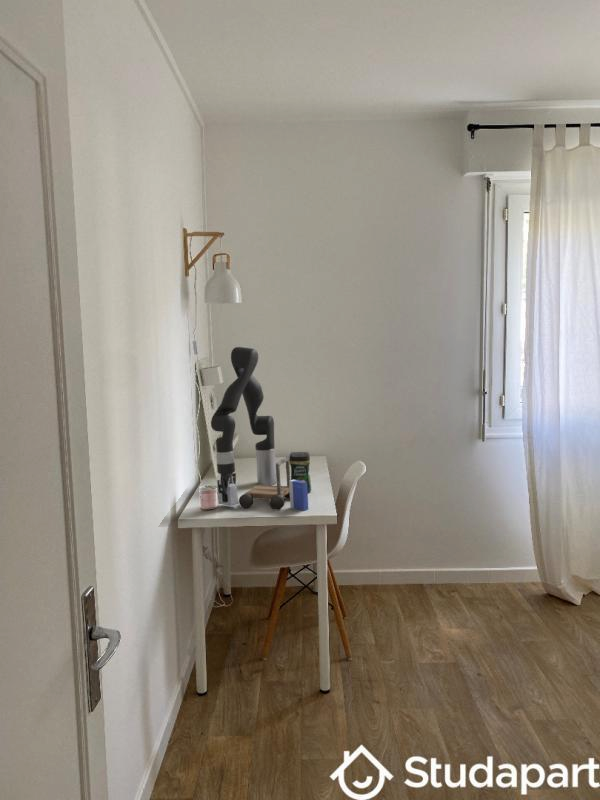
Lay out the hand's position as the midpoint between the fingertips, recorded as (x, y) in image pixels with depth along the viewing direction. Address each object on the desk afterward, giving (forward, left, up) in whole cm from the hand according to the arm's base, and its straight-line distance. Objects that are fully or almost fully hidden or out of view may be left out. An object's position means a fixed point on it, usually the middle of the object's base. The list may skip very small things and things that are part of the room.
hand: (228, 499), depth 279 cm
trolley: (-8, +16, -3) cm, 18 cm away
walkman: (-2, +31, -3) cm, 32 cm away
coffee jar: (-28, +24, -3) cm, 37 cm away
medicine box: (0, 0, -2) cm, 2 cm away
